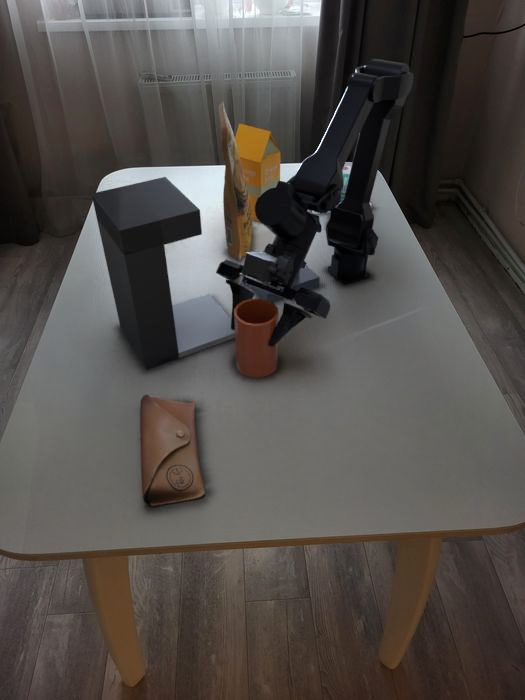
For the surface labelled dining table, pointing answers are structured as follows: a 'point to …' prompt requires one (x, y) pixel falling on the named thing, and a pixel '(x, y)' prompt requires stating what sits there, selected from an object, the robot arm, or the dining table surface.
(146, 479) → the sunglasses case
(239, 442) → the dining table surface
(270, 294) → the pad
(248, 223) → the pancake mix bag
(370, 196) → the robot arm
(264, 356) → the tumbler
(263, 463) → the dining table surface
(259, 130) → the orange juice
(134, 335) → the coffee maker
